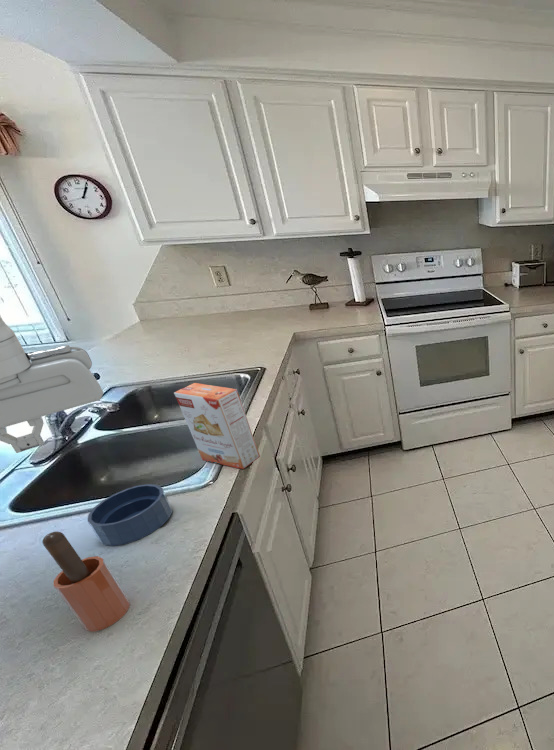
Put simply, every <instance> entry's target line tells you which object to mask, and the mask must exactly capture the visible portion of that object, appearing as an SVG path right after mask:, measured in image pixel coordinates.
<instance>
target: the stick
mask: <svg viewBox="0 0 554 750" xmlns="http://www.w3.org/2000/svg"><path fill="white" fill-rule="evenodd" d="M42 545H43V547H44V548H45V550H47V552H48V553H49V555H50V556H51V557H52V558H53V560H54V561H55V563H56V564H57V565H58V567H59V568H60V569H61V570H62V571H63V572H64V573H65V574H66V576H67V577H68V578H69V580H70V581H71V582H72V584H74V583H76V582H79V581H81V580H83V579H84V578H86V577H88V576H89V575H90V574H91V573H90V571H89V570H88V568H87V567H86V566H85V564H84V563H83V561H82V559H81V557H80V556H79V554H78V552H77V551H76V550H75V548H74V547H73V546H72V544H71V543H70V541H69V540H68V538H67V537H66V535H65V534H64V533H63V532H61V531H51V532H49V533H48V534H46V535H45V536H44V537H43V539H42Z"/></svg>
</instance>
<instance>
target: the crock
mask: <svg viewBox="0 0 554 750" xmlns="http://www.w3.org/2000/svg"><path fill="white" fill-rule="evenodd" d="M81 560H82V561H83V563H84V564H85V566H86V567H87V568H88V570H89V571H90V573H91V574H90V575H89V576H88V577H86V578H84V579H83V580H81V581H79V582H76V583H74V584H72V582H71V581H70V580H69V578H68V577H67V576H66V574H65V573H64V572H63V570H62V571H60V572H59V573H57V575H56V577H55V578H54V580H53V587H54V589H55V590H56V592H57V593H58V594H59V596H60V597H61V599H62V600H63V602H64V603H65V604H66V606H67V607H68V608H69V610H70V611H71V612H72V614H73V615H74V616H75V617H76V619H77V620H78V622H79V623H80V625H81V626H82V627H83V629H84V630H85V631H87V632H89V633H90V632H91V633H93V632H100V631H102V630H105V629H107V628H109V627H111V626H113V625H114V624H116V623H117V622H118V621H120V620H121V619H122V618H123V617H124V616H125V615H126V614H127V612H128V610H129V609H130V606H131V603H130V599H129V598H128V596H127V594H126V593H125V591H124V590H123V588H122V587H121V584H119V582H118V580H117V579H116V578H115V575H114V574H113V572H112V571H111V569H110V567H109V565H108V564H107V563H106V561H105V559H104V558H103V557H101V556H99V555H95V556H88V557H85V558H83V559H81Z"/></svg>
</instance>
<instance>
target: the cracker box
mask: <svg viewBox="0 0 554 750" xmlns="http://www.w3.org/2000/svg"><path fill="white" fill-rule="evenodd" d="M173 395H174V396H175V399H176V401H177V403H178V406H179V408H180V410H181V413H182V415H183V417H184V420H185V422H186V424H187V427H188V429H189V432H190V434H191V436H192V439H193V441H194V443H195V446H196V448H197V450H198V454H199V455H200V458H201V460H202V461H204V462H208V461H211V462H210V463H213V462H217V463H220V464H219V465H222V466H226V467H231V468H236V469H239V470H244V469H246V468H247V467H248V466H250V465H251V464H253V463H254V462H256V461H257V460H258V459H259V458H260V457H261V455H260V452H259V450H258V446H257V444H256V440H255V438H254V435H253V432H252V430H251V426H250V423H249V420H248V418H247V414H246V412H245V409H244V405H243V403H242V400H241V397H240V394H239V392H238V389H237V388H231V387H224V386H217V385H211V384H205V383H198V382H193V383H190V384H189V385H187V386H185V387H182V388H180V389H178V390H176V391H174V392H173ZM217 463H216V464H217Z"/></svg>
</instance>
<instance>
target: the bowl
mask: <svg viewBox="0 0 554 750" xmlns="http://www.w3.org/2000/svg"><path fill="white" fill-rule="evenodd" d="M172 513H173V507H172V504H171V503H170V500H169V499H168V496H167V494H166V493H165V490H164V488H163V487H162V486H160V485H159V484H154V483H147V484H139V485H135V486H132V487H131V486H130V487H128V488H125V489H123V490H120V491H117V492H116V493H113V494H112V495H110V496H108V497H106V498H104V499H103V500H102V501H100V502H98V504H96V505H95V506H93V508H92V509H91V510H90V512H89V513H88V515H87V523H88V525H89V527H90V528H91V529H92V532H93V533H94V535H95V536H96V538H97V539H98V541H99V542H100V543H101V544H102V545H104V546H110V547H115V546H122V545H127V544H130V543H132V542H136V541H139V540H141V539H143V538H145V537H147V536H149V535H151V534H153V533H154V532H156V531H157V530H158V529H159V528H161V527H162V526H163V525H164V524H165V523H166V522H167V521H168V520H169V519H170V517H171V515H172Z"/></svg>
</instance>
